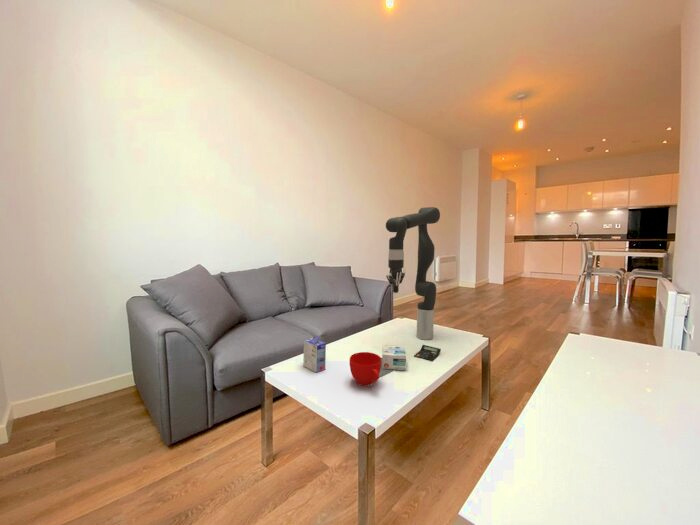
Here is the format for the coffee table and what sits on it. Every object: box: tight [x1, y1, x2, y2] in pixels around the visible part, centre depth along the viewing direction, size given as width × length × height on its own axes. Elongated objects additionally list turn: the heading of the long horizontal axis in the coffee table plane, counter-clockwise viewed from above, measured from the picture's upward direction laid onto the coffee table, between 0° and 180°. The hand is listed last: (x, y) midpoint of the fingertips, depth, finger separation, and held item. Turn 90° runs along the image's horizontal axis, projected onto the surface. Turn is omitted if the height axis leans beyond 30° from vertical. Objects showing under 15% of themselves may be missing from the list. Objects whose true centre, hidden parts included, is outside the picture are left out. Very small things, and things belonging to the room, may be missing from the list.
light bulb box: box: [381, 345, 407, 371], centre depth 136 cm, size 11×7×11 cm
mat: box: [349, 357, 397, 379], centre depth 136 cm, size 16×18×1 cm
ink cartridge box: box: [303, 334, 327, 373], centre depth 132 cm, size 10×6×14 cm, turn 46°
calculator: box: [413, 344, 442, 362], centre depth 148 cm, size 9×12×3 cm
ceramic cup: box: [349, 351, 382, 387], centre depth 119 cm, size 13×17×10 cm
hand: (395, 292), depth 149 cm, fingers closed
